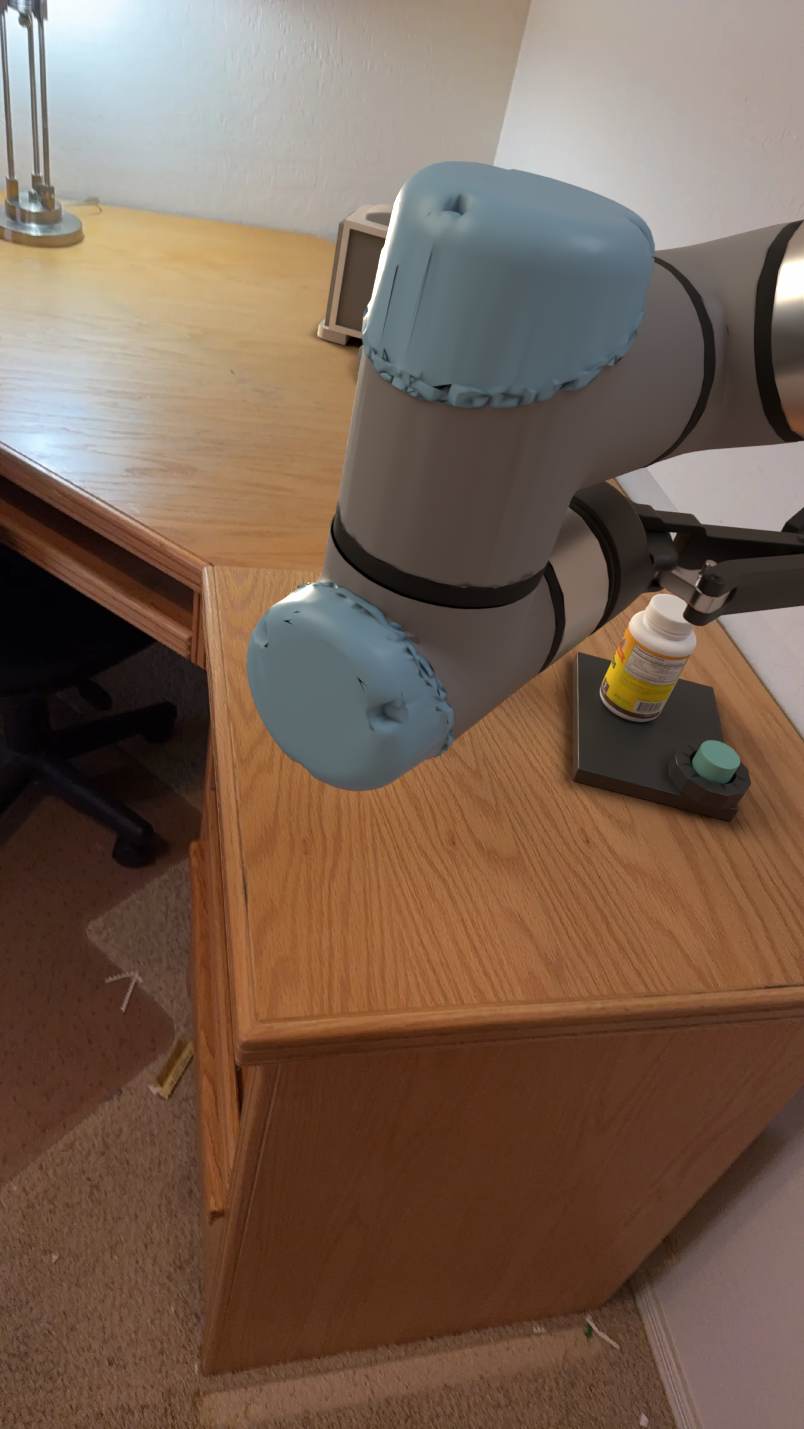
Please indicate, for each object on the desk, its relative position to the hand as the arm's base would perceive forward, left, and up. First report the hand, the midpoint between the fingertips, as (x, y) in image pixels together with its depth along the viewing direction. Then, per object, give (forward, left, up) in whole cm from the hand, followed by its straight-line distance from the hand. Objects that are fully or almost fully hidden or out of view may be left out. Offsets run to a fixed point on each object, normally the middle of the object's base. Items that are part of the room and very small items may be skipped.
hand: (712, 466), depth 54 cm
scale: (+6, -6, -26) cm, 27 cm away
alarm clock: (+87, +31, -26) cm, 95 cm away
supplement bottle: (+8, -4, -25) cm, 26 cm away
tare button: (0, -10, -23) cm, 26 cm away
